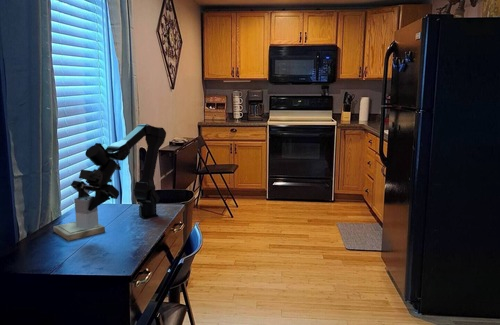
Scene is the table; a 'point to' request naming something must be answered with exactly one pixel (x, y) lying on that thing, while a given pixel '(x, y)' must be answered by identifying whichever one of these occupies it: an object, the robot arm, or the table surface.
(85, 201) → the plate
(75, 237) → the stand
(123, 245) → the table surface
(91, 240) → the table surface
